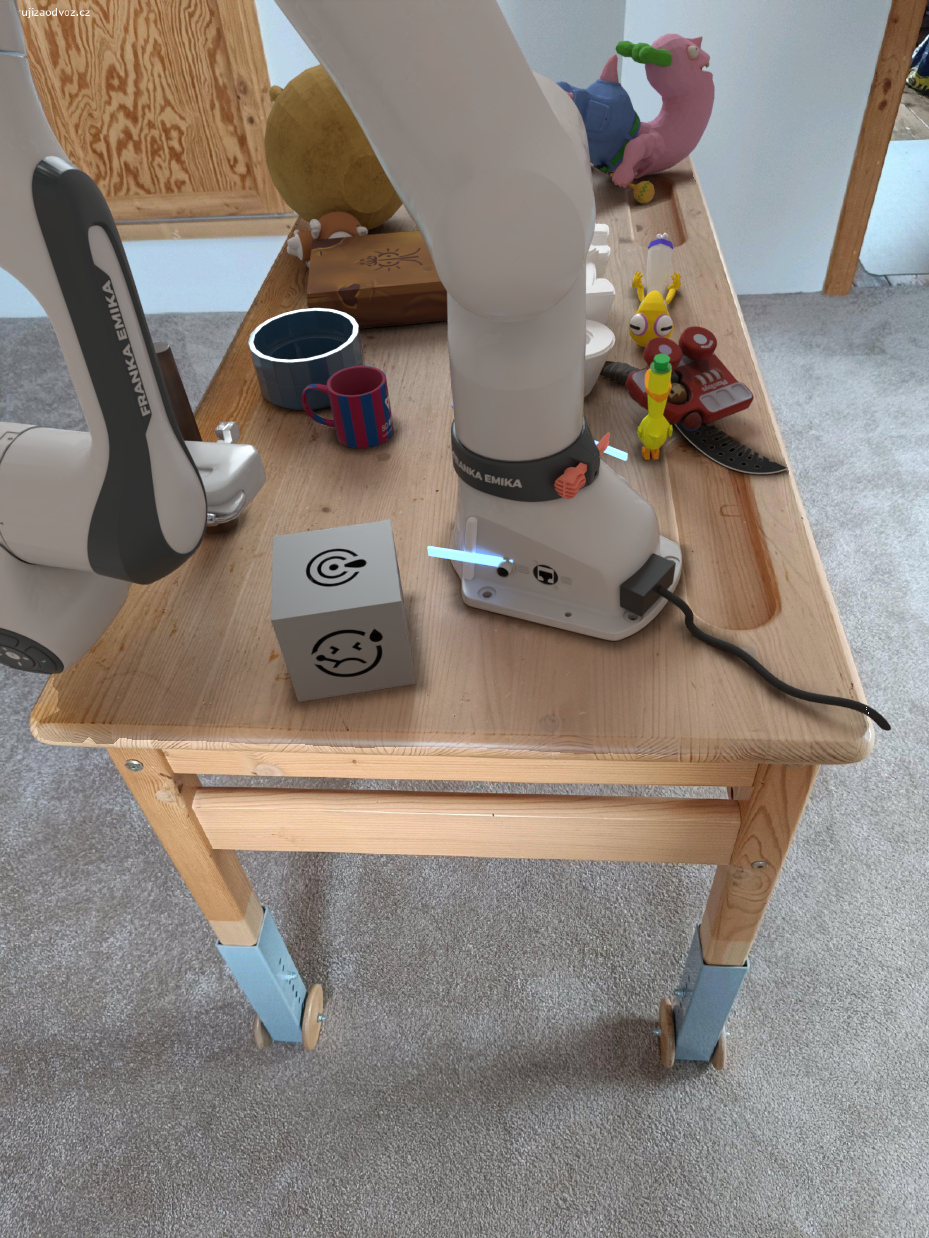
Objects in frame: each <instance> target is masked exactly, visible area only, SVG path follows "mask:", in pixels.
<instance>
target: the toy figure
mask: <svg viewBox="0 0 929 1238" xmlns="http://www.w3.org/2000/svg"><path fill="white" fill-rule="evenodd" d="M669 361H670V357H669V356H668V355H666V354H658V355H655V357H654V362H653V363H651V365H650V369H648V370H647V371H646V374H645V389H646V393H647V394H648V410H647V412H648V414H647V415H646V416H645V417H643V418H642V420H641V422H640V424H639V425H638V426H637V429H636V430H637V431H636V432H637V437H638V438H639V440H640V441H641V443H642V444H643V446H642V447H641V456H642V457H643V459H644V461H650V460H651V457H652V460H653V461H656V460H657V461H659V456H660V449H661V447H662V446H663V445H664V444H665V443H666V441H667V439H668V437H669V438H671V437H672V435H673V424H670V423H668V421H667V420H666V418H665V417H664V416H663V413H664V409H665V405H666V401H667V397H668V395H669V393H670V391H671V388H672V385H671V381H670V380H671V371H672V370H671V369H672V366H671V364H670V363H669Z"/></svg>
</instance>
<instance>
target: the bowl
mask: <svg viewBox="0 0 929 1238" xmlns="http://www.w3.org/2000/svg"><path fill="white" fill-rule="evenodd" d="M361 337H362V336H361V330H360V329H359V325H358V324H357V322H356V320H355V319H354V318H353V317H351V316H350V315H348V314H346V313H344V312H341V311H337V310H333V309H323V308H312V309H309V308H302V309H296V310H290V311H288V312H283V313H281V314H278V315H276V316H274V317H273V316H272V317H270V318H269V319H266V320H265V321H264V322H262V323H260V324H258V325H257V326H256V327H255V328H254V330H252V332H251V333H250V334H249V337H248V341H247V346H248V350H249V353H250V356H251V361H252V364H253V368H254V371H255V375H256V379H257V383H258V386H259V389H260V392H261V394H262V397H263V398H265V399H266V400H267V401H268V402H269V403H271V404H272V405H276V406H279V407H281V408H285V409H288V410H294V411H305V410H304V407H303V404H302V394H303V391H304V389H305V388H306V387H307V386H308V385H311V384H322V385H326V386H327V381H328V379H329V378H330V377H331V376H332V375H333V374H334V373H336V372H338V371H340V370H342V369H345V368H348V367H353V366H366V360H365V355H364V349H363V342H362V338H361ZM307 401H308V404H309V407H310V408H311V410H312V411H315V410H321V409H325V408H329V407H331V405H330V400H329V397H328V395H326V394H324V393H323V392H321V391H318V390H311V391H309V392H308V393H307Z"/></svg>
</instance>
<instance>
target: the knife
mask: <svg viewBox="0 0 929 1238" xmlns="http://www.w3.org/2000/svg"><path fill="white" fill-rule="evenodd" d="M638 370H641V369H639V368H638V367H636V366H633V365H631V364H628V363H627V362H621V361H612V360H606V362H605V364H604V366H603V368H602V370H601V372H600V374H599V376H601V377H603V378H604V379H606V380H609V381H611V382H614V383H617V384H620V385H624V386H625V383H626V381H627V379H628V377H629V375H630V374H631V373H632V372H635V371H638ZM710 424H711V423H707V424H705V423H701V426H700V427H699V428H698V429H697V430H695V431H688V430H686V429H685V428H684V427H683V426H682V422H680V423H677V424H674V426H675V427H676V428H677V430H678V431H679V432H680V433H681V435H683V437H684V438H685V439H686V440H687V441H688V442H689V443H690V444H692V446H694V447H695V448H696V449H697V450H699V452H701V453H702V454H704V455H705V456H706V457H708V458H709V459H711V460H712V461H714V462H716V463H718V464H719V465H721V466H723V467H725V468H727V469H729V470H734V471H737V472H741V473H744V474H745V473H746V474H750V475H753V474H754V475H769V474H776V473H780V472H784V471H786V470H789V468H788V467H787V466H784V465H782V464H780V463H778V462H776V461H771V460H770V458H768V457H766V456H765V455H762V456H761V457H760V452H757V451H756V450H754V452H753V453H752V451H753V449H752V448H750V447H748V448H747V445H745V444H741V443H742V442H740V441H739V440H735V438H734V437H732V436H730V435H728V436H727V433H726V432H725V431H723V430H719V427H717V426H716V425H714V424H711V425H710ZM717 430H719V431H717ZM709 433H710V434H709ZM724 436H725V437H724ZM716 439H717V440H716ZM734 440H735V441H734ZM725 444H726V445H725ZM723 445H724V446H723ZM733 449H734V450H733ZM745 449H746V450H745ZM731 450H733V451H731ZM720 454H722V455H720ZM740 454H741V456H740ZM749 458H751V459H749ZM743 464H744V465H743ZM757 467H758V468H757Z"/></svg>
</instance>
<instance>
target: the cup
mask: <svg viewBox="0 0 929 1238" xmlns="http://www.w3.org/2000/svg"><path fill="white" fill-rule="evenodd" d="M388 387H389V386H388V380H387V376H386V374H385V372H384V371H383V370H382V369H380V368H377V367H375V366H370V365H365V366H353V367H348V368H345V369H342V370H340V371H338V372H336V373H334V374H333V375H332V376H331V377H330V378H329V379H328V381H327V386H326V385H322V384H311V385H308V386H307V387H306V388H305V389H304V391H303V394H302V404H303V407H304V410H303V411H304V412H305V414H306V415H307V416H308V417H309V418H310V419H311V420H312V421H313V422H316V423H317V424H320V425H322V426H325V427H329V428H334V429H335V434H336V438H337V441H339V442H340V443H341V444H342V445H343V446H346V447H348V448H351V449H359V450H360V449H361V450H362V449H372V448H374V447H377V446H380V445H382V444H384V443H385V442H387V441H388V440H389V439H390V438H391V437H392V436H393V434H394V431H395V428H394V422H393V415H392V407H391V400H390V395H389V388H388ZM311 390H318V391H321V392H323V393H324V394H326V395H328V397H329V400H330V405H331V406H330V409H331V415H332V419H331V418H326V417H323V416H320V415H319V414H317V413H316V412H314V410H311V408H310V407H309V404H308V401H307V393H308V392H309V391H311Z"/></svg>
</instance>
